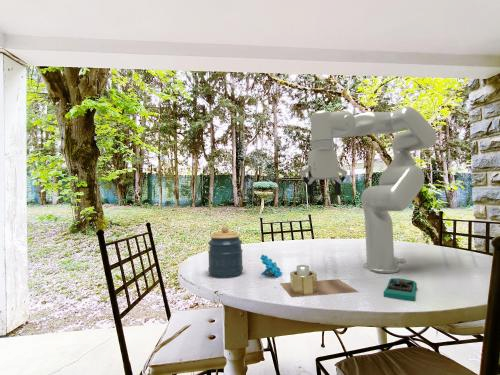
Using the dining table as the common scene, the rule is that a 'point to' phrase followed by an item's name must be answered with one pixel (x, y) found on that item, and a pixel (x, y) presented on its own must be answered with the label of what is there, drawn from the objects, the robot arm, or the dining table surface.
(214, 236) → the canister
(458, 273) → the dining table surface
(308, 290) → the ring
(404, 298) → the digital multimeter
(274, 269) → the gear
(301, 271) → the piston post
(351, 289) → the board
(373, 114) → the robot arm
